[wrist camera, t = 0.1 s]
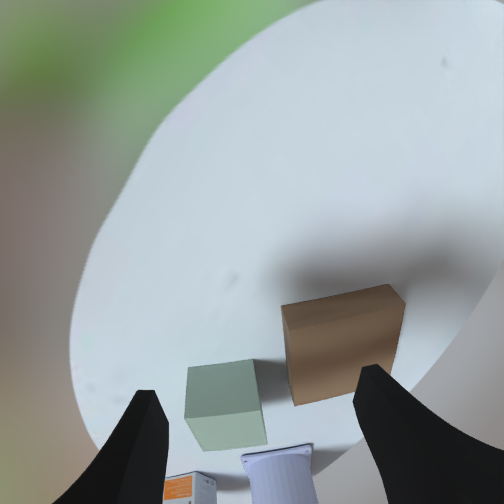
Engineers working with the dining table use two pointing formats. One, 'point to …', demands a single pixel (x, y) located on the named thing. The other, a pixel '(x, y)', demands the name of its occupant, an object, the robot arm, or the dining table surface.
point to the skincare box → (189, 489)
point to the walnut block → (339, 340)
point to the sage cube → (224, 406)
